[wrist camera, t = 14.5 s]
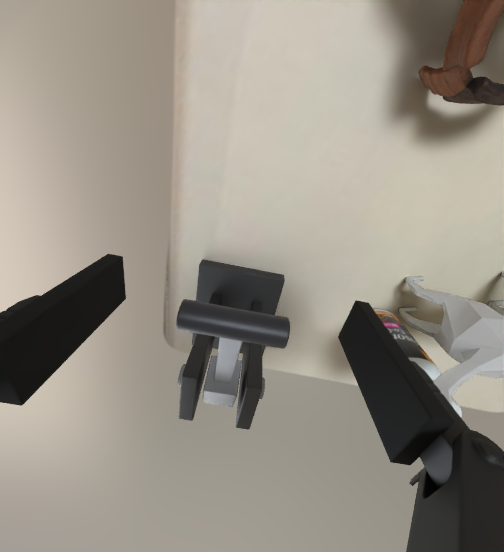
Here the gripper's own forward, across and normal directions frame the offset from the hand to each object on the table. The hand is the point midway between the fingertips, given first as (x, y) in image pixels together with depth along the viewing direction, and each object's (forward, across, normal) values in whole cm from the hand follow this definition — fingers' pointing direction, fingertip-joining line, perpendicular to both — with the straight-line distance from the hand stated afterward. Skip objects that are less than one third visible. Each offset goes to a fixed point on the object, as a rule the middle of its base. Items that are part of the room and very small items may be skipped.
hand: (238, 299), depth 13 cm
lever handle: (0, 0, -3) cm, 3 cm away
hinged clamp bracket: (+9, 0, -7) cm, 12 cm away
